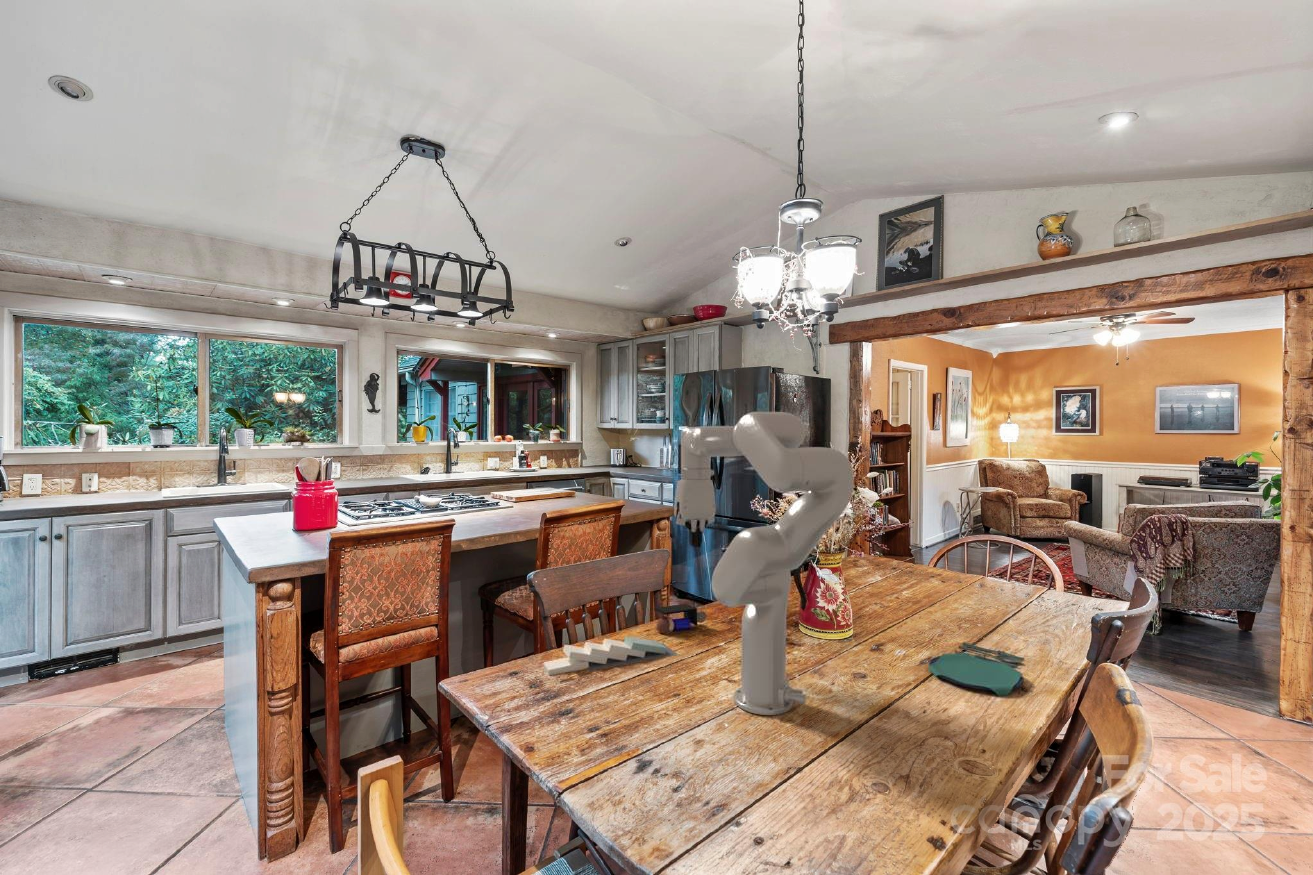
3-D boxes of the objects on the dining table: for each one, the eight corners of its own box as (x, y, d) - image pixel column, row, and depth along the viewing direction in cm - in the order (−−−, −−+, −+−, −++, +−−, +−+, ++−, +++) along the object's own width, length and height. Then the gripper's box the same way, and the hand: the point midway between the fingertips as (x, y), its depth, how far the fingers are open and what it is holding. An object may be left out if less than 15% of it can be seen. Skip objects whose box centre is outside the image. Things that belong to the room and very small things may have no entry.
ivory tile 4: (582, 654, 148) (543, 662, 143) (588, 661, 143) (548, 670, 139) (582, 660, 148) (543, 668, 143) (588, 667, 143) (548, 676, 139)
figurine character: (691, 627, 178) (650, 631, 169) (694, 601, 178) (653, 604, 170) (705, 633, 172) (664, 638, 164) (708, 607, 173) (666, 610, 164)
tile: (658, 641, 156) (625, 636, 152) (666, 647, 152) (633, 642, 148) (657, 647, 156) (624, 642, 152) (665, 653, 152) (631, 648, 148)
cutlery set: (916, 679, 139) (916, 669, 138) (956, 645, 160) (956, 636, 160) (1012, 706, 125) (1012, 695, 125) (1041, 665, 147) (1041, 656, 147)
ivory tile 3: (600, 650, 150) (564, 644, 146) (607, 657, 145) (570, 651, 141) (598, 657, 149) (563, 650, 145) (605, 664, 145) (568, 658, 141)
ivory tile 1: (638, 644, 154) (604, 638, 150) (645, 651, 150) (611, 644, 146) (636, 650, 154) (602, 644, 150) (643, 657, 149) (609, 651, 145)
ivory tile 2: (620, 647, 152) (585, 641, 148) (627, 654, 147) (591, 648, 143) (618, 653, 152) (583, 647, 148) (625, 660, 147) (589, 654, 143)
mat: (663, 644, 159) (663, 643, 159) (677, 656, 151) (677, 654, 151) (578, 659, 149) (578, 657, 149) (589, 672, 141) (589, 671, 141)
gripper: (713, 473, 156) (713, 541, 156) (663, 475, 149) (663, 546, 150) (728, 475, 149) (728, 546, 149) (676, 477, 143) (676, 551, 143)
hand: (695, 546), depth 149 cm, fingers closed
